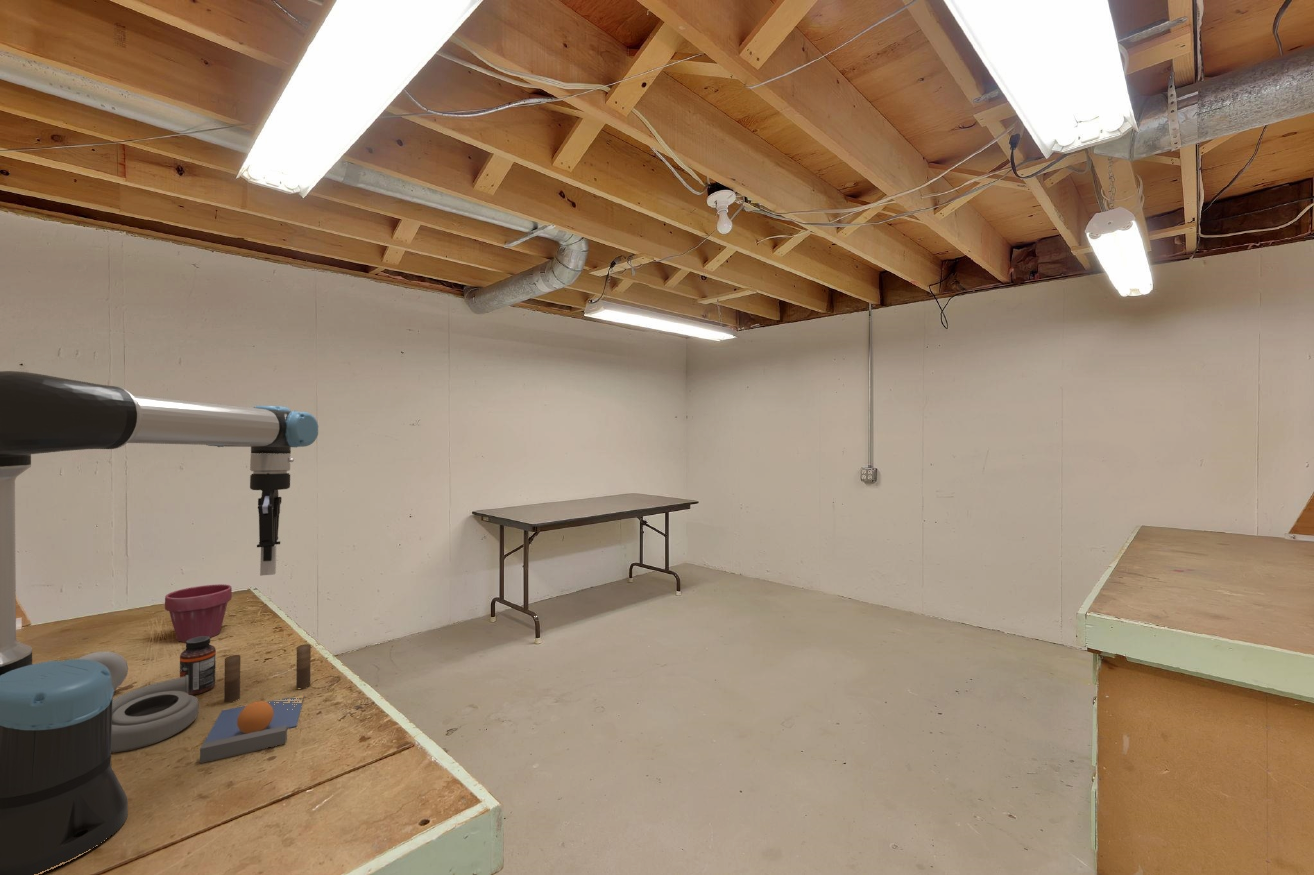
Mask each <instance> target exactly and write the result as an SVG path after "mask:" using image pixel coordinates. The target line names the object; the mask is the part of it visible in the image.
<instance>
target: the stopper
mask: <svg viewBox="0 0 1314 875" xmlns="http://www.w3.org/2000/svg"><path fill="white" fill-rule="evenodd" d="M287 740H288V729H287V725H285V726H281V727H276V728H271V729H267V730H262V731H257V732H252V733H248V734H243V735H238V736H233V737H229V738H224V739H219V740H215V741H210V742H205V741H204V742H205V743H204V742H203V743H202V744H201V746H200V748H199V764H203V763H208V762H212V761H217V760H221V759H222V760H223V759H226V758H231V757H234V756H239V755H244V754H249V753H253V752H257V751H261V749H262V750H266V749H269V748H268V747H271V748H274V746H275V747H277V746H276V745H280V746H283V745H282V744H284V745H286V744H285V743H287ZM265 748H266V749H265Z"/></svg>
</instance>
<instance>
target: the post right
mask: <svg viewBox="0 0 1314 875" xmlns="http://www.w3.org/2000/svg"><path fill="white" fill-rule="evenodd" d="M311 646H312V645H311V644H309V643H306V644H300V645H298V646H297V647H296V676H295V677H296V683H295V684H296V685H295V686H296V687H295V688H305V689H307V688H306V687H307V686H309V687H310V686H311V661H312V660H311V658H312V657H311V655H312V654H311V652H312V651H311V649H312V648H311Z"/></svg>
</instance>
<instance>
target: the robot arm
mask: <svg viewBox="0 0 1314 875" xmlns="http://www.w3.org/2000/svg"><path fill="white" fill-rule="evenodd" d="M318 436H319V424H318V421H317V419H316V417H315V416H314V415H313V414H312V413H309V412H307V411H299V410H292V411H291V409H290V408H289V407H287V406H280V405H279V406H278V405H255V406H252V407H247V406H239V405H229V404H219V403H211V402H210V403H209V402H201V401H190V400H182V399H173V398H164V397H163V398H162V397H155V396H153V397H152V396H144V395H137V394H136V395H135V394H132V393H131V392H129V391H128V390H127V389H125V388H123V387H120V386H115V385H108V384H107V385H106V384H99V383H92V382H87V381H83V380H82V381H81V380H76V379H69V378H64V377H58V376H53V375H48V374H47V375H46V374H41V373H35V372H28V371H15V370H4V371H3V370H1V371H0V875H34V874H38V873H40V872H42V871H45V870H47V869H50V868H51V867H54V866H56V865H59V864H60V863H62V862H66V861H68V860H70V859H72V858H74V857H76V856H78V855H79V854H82V853H84V852H86V851H88V850H89V849H92V848H93V847H95V846H96V845H99V844H100V843H101V842H103V841H104V840H106V838H109V837H110V836H111V835H112V836H113V835H115V834H116V833H117V832H118V831H119V830H120V829H121V828H122V826H123V825H124V823H125V822H126V821H127V818H128V813H129V812H128V811H129V809H128V808H129V807H128V806H129V801H128V796H127V794H126V792H125V790H124V788H123V787H122V785H121V783H120V781H119V778H118V777H117V775H116V773H115V771H114V770H113V767H112V752H111V732H112V700H113V698H114V694H115V690H114V689H113V686H112V679H111V673H110V671H109V669H108V668H107V667H106V666H105V665H103V664H102V663H99V662H96V661H92V660H85V659H79V658H67V659H65V660H57V659H56V660H48V661H43V662H37V663H33V648H32V646H30V645H28V644H26V643H23V642H21V641H19V640H17V605H16V604H17V599H16V598H17V597H16V596H17V593H16V590H17V589H16V586H17V585H16V584H17V580H16V572H17V571H16V570H17V568H16V479H17V477H18V476H20V475H21V474H22V473H25V471H27V470H28V469H29V468H31V467H32V455H38V454H50V453H57V452H58V453H59V452H70V451H71V452H72V451H82V450H117V449H119V448H122V447H124V446H125V445H127V444H150V445H151V444H153V445H154V444H155V445H156V444H157V445H158V444H159V445H160V444H161V445H164V444H165V445H192V446H193V445H194V446H195V445H199V446H200V445H201V446H209V447H218V448H224V447H225V448H226V447H229V448H230V447H231V448H233V447H234V448H235V447H238V448H239V447H241V448H242V447H243V448H244V447H245V448H249V447H250V463H249V465H250V466H249V471H251V472H253V473H251V474H250V475H249V476H250V477H249V489H250V490H252V491H261V497H259V498H257V509H258V510H257V511H258V531H259V532H258V533H259V534H258V537H259V538H258V540H259V542H258V544H257V545H256V548H260V569H259V571H260V572H259V576H272V575H275V574H276V573H277V545H281V540H279V524H280V513H281V504H282V496H279V491H280V490H288V489H290V488H291V474H290V473H288V472H289V471H291V463H293V462H294V460H295V459H294V458H293V457H291V450H292V449H291V448H301V447H308V446H310V445H312V444H313V443H314V442H315V441H316V440H317V438H318ZM116 831H117V832H116ZM114 833H115V834H114ZM112 836H111V837H112ZM111 837H110V838H111ZM110 838H109V839H110ZM106 841H107V840H106ZM103 843H104V842H103ZM100 845H101V844H100ZM100 845H99V846H100Z"/></svg>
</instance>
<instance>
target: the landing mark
mask: <svg viewBox="0 0 1314 875" xmlns="http://www.w3.org/2000/svg"><path fill="white" fill-rule="evenodd" d="M289 698H290V697H285V698H281V699H282V700H285V699H286V700H287V699H289ZM290 699H291V700H292V699H293V700H294V699H296V698H290ZM297 699H298V698H297ZM299 699H301V698H299ZM303 699H305V697H304V698H303ZM278 700H280V699H278ZM266 702H267V703H269V702H270V703H269V704H270V705H271V706H272V708H273V711H274V715H273V719H272V721H271V722H270V724H269V725H268V726H267V727H266V728H265V729H264V730H267V729H271V728H276V727H281V726H285V725H287V730H288V728H289V729H292V727H293V728H297V727H298V726H297V725H298V723H299V718H300V715H299V714H301V711H300V710H302V707H303V703H292V702H294V701H290V703H283V702H288V701H274V700H270V701H266ZM274 702H275V703H274ZM276 702H279V703H276ZM295 702H297V701H295ZM298 702H299V701H298ZM274 704H275V705H274ZM283 704H284V705H283ZM292 704H293V705H292ZM294 704H295V705H294ZM296 704H297V705H296ZM246 706H247V705H242V706H239V707H238V706H237V707H233V708H228V709H223V710H222V709H221V712H220V713H219V715H218V717H217V719H216V721H215V722H214V723H213V724H214V725H213V726H212V728H211V729H210V731H209V733H208V735H207V737H206V738H205V740H204V742H203V743H205V742H210V741H215V740H219V739H224V738H229V737H233V736H238V735H243V734H246V733H243V732H242V731H240V730H239V728H238V726H237V719H238V716H239V714H240V712H241V711H242V710H243V709H244V708H245V707H246ZM294 706H295V707H294ZM301 706H302V707H301ZM287 709H288V710H287ZM292 709H293V710H292Z"/></svg>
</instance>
